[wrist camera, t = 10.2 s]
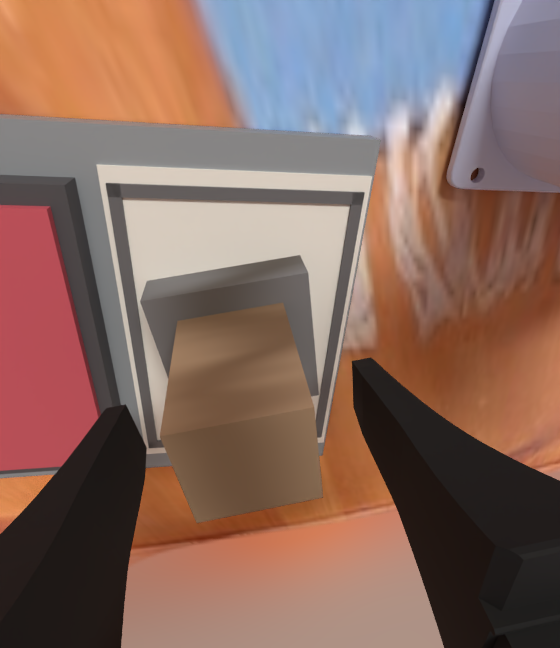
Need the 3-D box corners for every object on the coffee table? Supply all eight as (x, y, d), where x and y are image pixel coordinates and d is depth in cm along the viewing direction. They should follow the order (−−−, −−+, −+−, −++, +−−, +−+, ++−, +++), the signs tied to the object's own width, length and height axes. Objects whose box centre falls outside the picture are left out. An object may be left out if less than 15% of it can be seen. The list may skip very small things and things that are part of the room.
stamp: (300, 255, 14) (353, 368, 9) (311, 371, 17) (356, 509, 12) (146, 281, 14) (102, 414, 8) (185, 394, 17) (171, 547, 11)
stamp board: (370, 135, 13) (396, 146, 11) (318, 440, 21) (328, 476, 19) (-268, 98, 11) (-375, 104, 9) (-54, 464, 18) (-85, 509, 17)
